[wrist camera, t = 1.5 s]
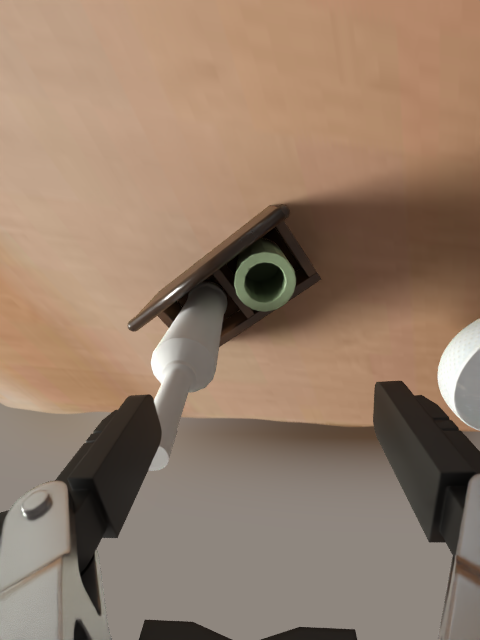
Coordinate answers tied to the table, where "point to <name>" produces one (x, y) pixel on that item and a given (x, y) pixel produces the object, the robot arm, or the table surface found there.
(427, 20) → the table surface
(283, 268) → the jar
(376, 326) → the table surface
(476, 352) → the cereal bowl
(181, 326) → the bottle
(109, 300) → the table surface
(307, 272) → the tray
